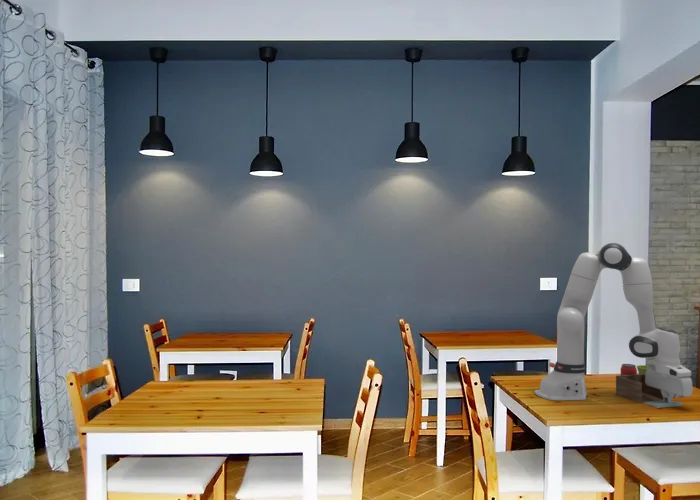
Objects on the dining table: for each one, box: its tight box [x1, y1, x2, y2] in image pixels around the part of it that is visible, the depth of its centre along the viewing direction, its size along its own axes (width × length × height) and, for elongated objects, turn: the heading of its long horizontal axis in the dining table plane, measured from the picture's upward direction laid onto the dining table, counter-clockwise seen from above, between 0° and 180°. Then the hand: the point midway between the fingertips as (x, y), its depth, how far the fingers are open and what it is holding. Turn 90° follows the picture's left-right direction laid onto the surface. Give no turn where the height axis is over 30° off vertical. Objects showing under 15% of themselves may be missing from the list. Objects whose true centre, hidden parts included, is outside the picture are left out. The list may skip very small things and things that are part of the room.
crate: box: [615, 373, 669, 404], centre depth 228 cm, size 14×14×9 cm
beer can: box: [620, 363, 638, 375], centre depth 242 cm, size 7×7×12 cm
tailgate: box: [642, 400, 683, 409], centre depth 218 cm, size 12×1×8 cm
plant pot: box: [635, 364, 648, 374], centre depth 253 cm, size 9×9×9 cm
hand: (667, 401), depth 218 cm, fingers closed
